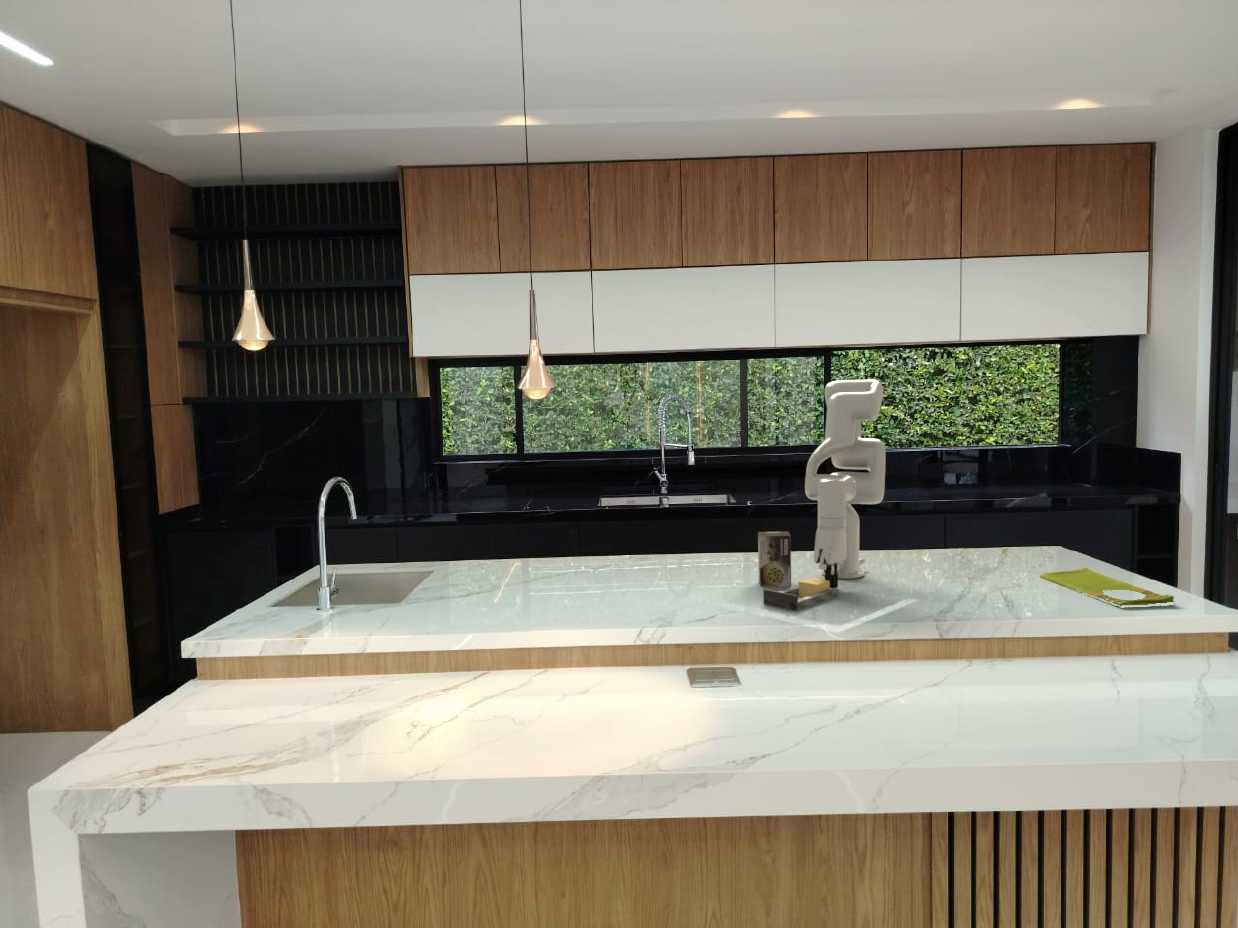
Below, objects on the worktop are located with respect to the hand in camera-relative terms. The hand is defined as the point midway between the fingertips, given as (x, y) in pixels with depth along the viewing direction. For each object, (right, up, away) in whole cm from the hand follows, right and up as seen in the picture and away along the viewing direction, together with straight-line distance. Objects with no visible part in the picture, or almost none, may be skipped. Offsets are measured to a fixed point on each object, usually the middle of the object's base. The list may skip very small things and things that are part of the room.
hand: (831, 587), depth 241 cm
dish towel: (+75, -1, -2) cm, 75 cm away
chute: (-10, -3, -10) cm, 15 cm away
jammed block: (-6, -1, -6) cm, 9 cm away
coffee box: (-14, -2, +9) cm, 17 cm away
